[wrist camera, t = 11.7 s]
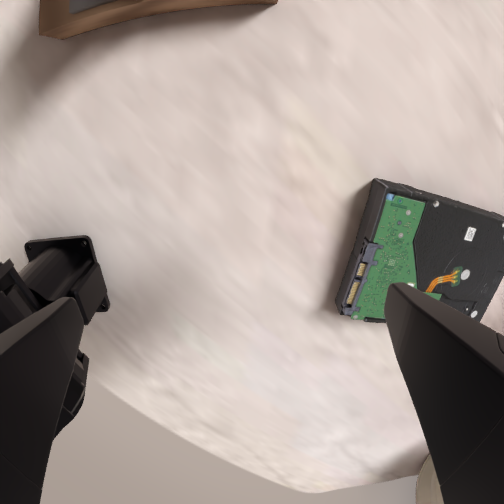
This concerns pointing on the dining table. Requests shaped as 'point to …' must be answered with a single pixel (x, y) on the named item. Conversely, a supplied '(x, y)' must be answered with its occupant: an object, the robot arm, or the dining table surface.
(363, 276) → the disk drive
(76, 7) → the walnut stand
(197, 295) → the dining table surface
